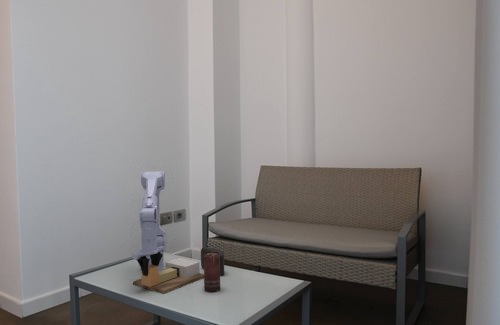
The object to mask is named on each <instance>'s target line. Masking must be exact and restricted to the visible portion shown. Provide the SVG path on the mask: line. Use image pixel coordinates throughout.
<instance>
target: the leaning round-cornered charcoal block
mask: <svg viewBox="0 0 500 325" xmlns="http://www.w3.org/2000/svg"><path fill="white" fill-rule="evenodd" d="M207 252H218V253H219V255H220V276H224V274H225V254H224V252H223V251H222V250H221V249H217V248H213V247H207V246H205V247H202V248H201V249H200V266H201V267H202V269H204V254H205V253H207Z"/></svg>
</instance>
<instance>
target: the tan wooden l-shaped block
mask: <svg viewBox="0 0 500 325" xmlns="http://www.w3.org/2000/svg"><path fill="white" fill-rule="evenodd" d="M175 277H177V270H176V269H172V268H168V269H165V270H162V271H159V272H158V266H155V265H151V264H149V265H148V276H144V275H143V274H142V273H141V279H142V285H145V286H148V287H152V286H155V285H158V284H159V283H161V282H164V281H167V280H170V279H173V278H175Z"/></svg>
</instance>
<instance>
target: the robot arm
mask: <svg viewBox="0 0 500 325" xmlns="http://www.w3.org/2000/svg"><path fill="white" fill-rule="evenodd" d="M140 183H141V186H142V188H143V190H145V191H146V194H144V196H143V198H142V205H141V209H139V213H138V214H139V223H140V225H139V226H140V230H141V234H140V235H141V250H139V251H138V252H137V251H136V252H135V253H132V256H131V257H132V260H134V261H137V263H138V265H139V267H140V270H141V275H142V274H143V275H144V276H148V265H149V264H151V265H155V266H158V272H159V271H162V270H165V269H166V266H165V264H164V260H165V259H164V252H166V247H167V233H166V230H165V229H164V228H162V227H161V226H160V193H161V191H162V190H165V186H166V173H165V171H164V170H158V171H155V170H154V171H153V170H151V171H143V170H142V171H141V174H140Z"/></svg>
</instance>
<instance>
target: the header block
mask: <svg viewBox="0 0 500 325" xmlns="http://www.w3.org/2000/svg"><path fill="white" fill-rule="evenodd" d="M200 266H201V264H200V262H199V261H195V260H191V259H187V258H182V257H178V258H174V259H171V260H167V261H165V264H164V267H166V269H168V268H172V269H176V270H177V273H180V277H182V278H185V279H186V278H189V277H192V276H194V275H197V274H200V273H201V272H200V271H201V270H200V269H201V267H200Z"/></svg>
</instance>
